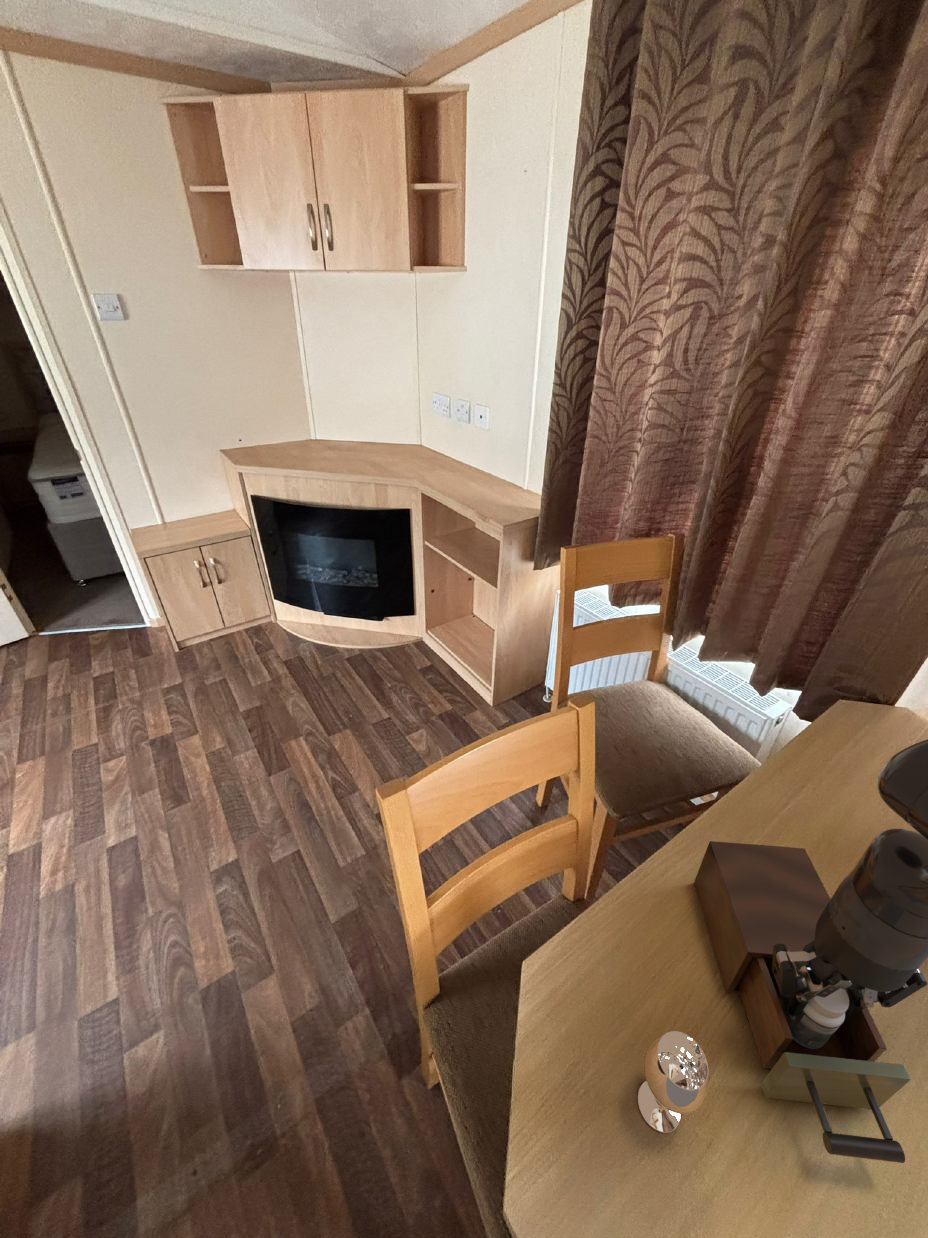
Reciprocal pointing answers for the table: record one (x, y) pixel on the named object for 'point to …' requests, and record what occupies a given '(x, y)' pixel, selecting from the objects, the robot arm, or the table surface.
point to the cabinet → (757, 903)
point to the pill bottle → (818, 1019)
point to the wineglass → (672, 1081)
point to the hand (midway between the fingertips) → (815, 1008)
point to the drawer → (823, 1065)
